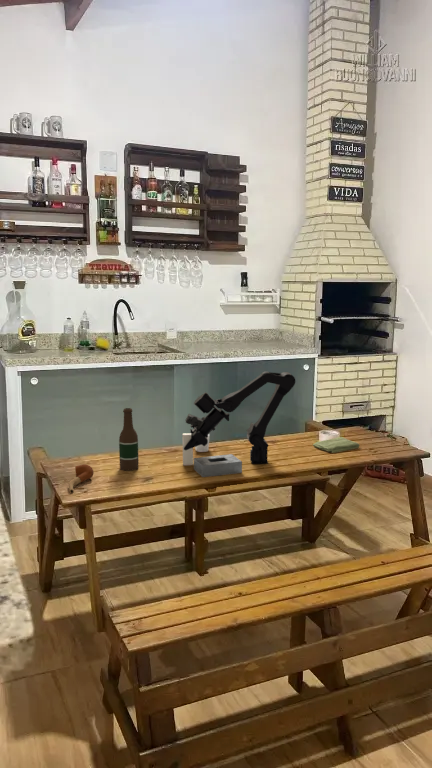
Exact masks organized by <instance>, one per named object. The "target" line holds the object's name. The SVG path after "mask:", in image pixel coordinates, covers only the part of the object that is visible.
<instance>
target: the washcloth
mask: <svg viewBox="0 0 432 768" xmlns="http://www.w3.org/2000/svg"><path fill="white" fill-rule="evenodd" d="M312 446H313V447H314V448H317V449H320V450H322V451H325V452H326V451H327V452H328V453H331V454H335V453H340V452H344V451H345V452H346V451H350V450H355V449H358V448H360V443H358V442H356V441H352V440H349V439H348V438H345V437H342V436H339V437H336V438H329V439H325V440H320V441H316V442H315V443H313V444H312Z"/></svg>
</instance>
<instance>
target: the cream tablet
mask: <svg viewBox="0 0 432 768" xmlns="http://www.w3.org/2000/svg"><path fill="white" fill-rule="evenodd" d="M192 434H193V433H192ZM190 439H191V433H185V432H184V433H182V465H183V466H194V447H193V448H190V449H188V450H184V447H185V446H186V444H187V443H188V442H189V440H190Z"/></svg>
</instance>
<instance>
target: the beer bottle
mask: <svg viewBox="0 0 432 768" xmlns="http://www.w3.org/2000/svg"><path fill="white" fill-rule="evenodd" d="M122 413H123V426H122V430H121V432H120V434H119V439H118V446H119V447H118V448H119V452H118V453H119V454H118V455H119V468H120V470H121V471H124V472H125V471H135V470H138V469H139V464H140V463H139V460H140V459H139V438H138V433H137V431H136V430H135V428H134V424H133V408H131V407H129V408H128V407H125V408H123V411H122Z"/></svg>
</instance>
